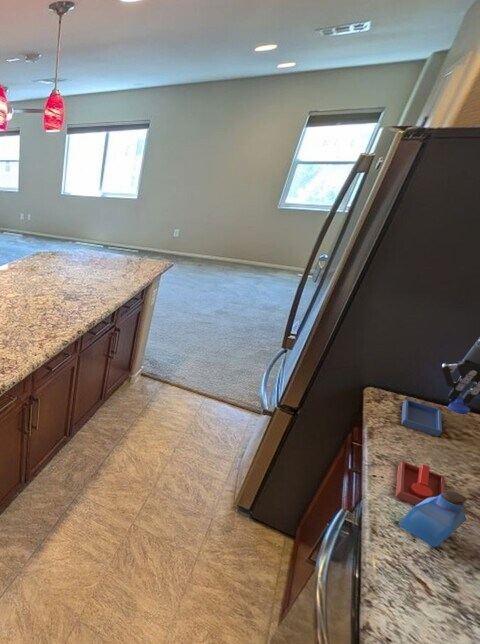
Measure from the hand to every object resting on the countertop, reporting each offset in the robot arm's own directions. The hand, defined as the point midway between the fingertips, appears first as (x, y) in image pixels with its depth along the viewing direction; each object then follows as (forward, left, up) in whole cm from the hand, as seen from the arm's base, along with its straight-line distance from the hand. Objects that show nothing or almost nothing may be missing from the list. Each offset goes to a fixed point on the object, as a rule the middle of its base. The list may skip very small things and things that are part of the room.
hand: (456, 401), depth 107 cm
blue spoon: (+1, +1, 0) cm, 1 cm away
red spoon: (+15, +23, -12) cm, 30 cm away
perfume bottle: (+22, +38, -13) cm, 46 cm away
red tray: (+16, +24, -13) cm, 32 cm away
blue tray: (-2, -9, -13) cm, 16 cm away
